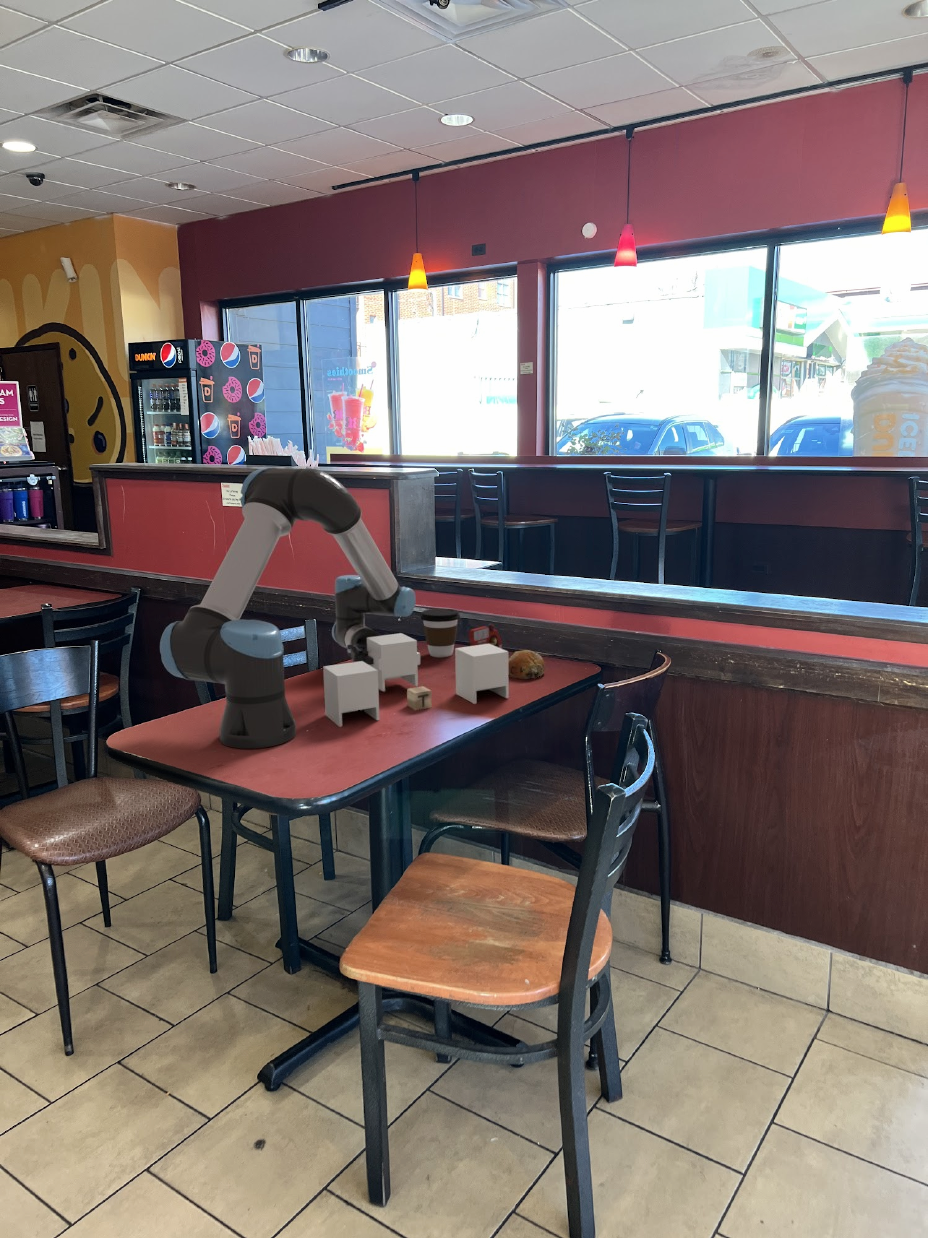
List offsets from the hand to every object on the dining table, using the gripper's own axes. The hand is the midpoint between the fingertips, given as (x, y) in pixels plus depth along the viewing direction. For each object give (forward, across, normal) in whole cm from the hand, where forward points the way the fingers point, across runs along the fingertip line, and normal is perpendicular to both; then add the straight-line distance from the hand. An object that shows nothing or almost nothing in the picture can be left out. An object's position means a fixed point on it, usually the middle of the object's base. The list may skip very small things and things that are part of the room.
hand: (399, 661), depth 206 cm
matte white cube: (+10, +16, -8) cm, 21 cm away
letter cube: (+10, 0, -8) cm, 13 cm away
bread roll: (0, -34, -8) cm, 36 cm away
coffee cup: (-30, -25, -8) cm, 40 cm away
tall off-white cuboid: (-5, 0, -6) cm, 8 cm away
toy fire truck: (-15, -31, -8) cm, 35 cm away
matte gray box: (+10, -16, -8) cm, 21 cm away
